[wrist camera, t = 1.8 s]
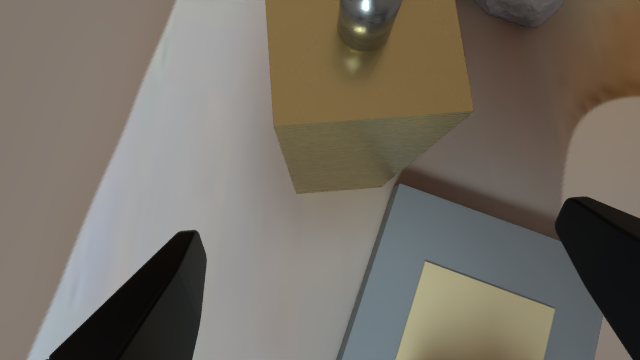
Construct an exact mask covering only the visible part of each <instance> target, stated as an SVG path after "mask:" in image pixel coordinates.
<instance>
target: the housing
mask: <svg viewBox="0 0 640 360" xmlns="http://www.w3.org/2000/svg"><path fill="white" fill-rule="evenodd" d="M265 3H266V18H267V33H268V49H269V64H270V79H271V94H272V109H273V125H274V129H275V132H276V135H277V138H278V141H279V144H280V147H281V150H282V153H283V155H284V158H285V161H286V164H287V167H288V170H289V173H290V176H291V179H292V182H293V185H294V188H295V191H296V194H302V193H314V192H326V191H338V190H350V189H362V188H374V187H382V186H383V185H384V184H386V183H387V182H388V181H389V180H390V179H392V178H393V177H394V176H395V175H397V174H398V173H399V172H400V171H401V170H403V169H404V168H405V167H406V166H407V165H409V164H410V163H411V162H412V161H414V160H415V159H416V158H417V157H418V156H420V155H421V154H422V153H423V152H425V151H426V150H427V149H428V148H429V147H431V146H432V145H433V144H434V143H436V142H437V141H438V140H439V139H440V138H442V137H443V136H444V135H445V134H447V133H448V132H449V131H450V130H451V129H453V128H454V127H455V126H456V125H458V124H459V123H460V122H461V121H462V120H464V119H465V118H466V117H467V116H469V115H470V114H471V113H472V112H473V111H474V107H473V102H472V96H471V90H470V84H469V78H468V73H467V67H466V61H465V55H464V49H463V44H462V38H461V32H460V26H459V21H458V15H457V9H456V3H455V0H265Z"/></svg>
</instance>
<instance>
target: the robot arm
mask: <svg viewBox="0 0 640 360" xmlns="http://www.w3.org/2000/svg"><path fill="white" fill-rule="evenodd" d="M555 230H556V233H557V235H558V237H559V239H560V241H561V243H562V244H563V246H564V248H565V250H566V252H567V254H568V256H569V258H570V260H571V262H572V264H573V265H574V267H575V269H576V271H577V273H578V275H579V277H580V279H581V280H582V282H583V284H584V286H585V288H586V289H587V291H588V292H589V294H590V296H591V297H592V299H593V300H594V302H595V303H596V305H597V306H598V308H599V309H600V311H601V312H602V314H603V315H604V317H605V318H606V320H607V321H608V323H609V324H610V326H611V327H612V329H613V330H614V332H615V333H616V335H617V336H618V338H619V339H620V341H621V343H622V344H623V345H624V347H625V349H626V350H627V352H628V353H629V355H630V356H631V358H632V359H633V360H640V218H637V217H635V216H632V215H630V214H628V213H625V212H623V211H620V210H618V209H615V208H613V207H611V206H608V205H606V204H603V203H601V202H599V201H596V200H594V199H591V198H589V197H572V198H568V199H567V200H566V201H565V202H564V204H563V206H562V209H561V211H560V213H559V215H558V217H557V219H556V222H555ZM206 264H207V258H206V253H205V250H204V247H203V244H202V241H201V238H200V235H199V233H198V232H197V231H196V230H187V231H180V232H178V233H177V234H175V235H174V236H173V237H172V238H171V239H170V240H169V241H168V242H167V243H166V244H165V245H164V246H163V247H162V248H161V249H160V250H159V251H158V252H157V253H156V254H155V255H154V256H153V257H152V258H151V259H150V260H148V261H147V262H146V263H145V264H144V265H143V266H142V267H141V268H140V269H139V270H138V271H137V272H136V273H135V274H134V275H133V276H132V277H131V278H130V279H129V280H128V281H127V282H126V283H125V284H124V285H123V286H121V287H120V288H119V289H118V290H117V291H116V292H115V293H114V294H113V295H112V296H111V297H110V298H109V299H108V300H107V301H106V302H105V303H104V304H103V305H102V306H101V307H100V308H99V309H98V310H97V311H95V312H94V313H93V314H92V315H91V316H90V317H89V318H88V319H87V320H86V321H85V322H84V323H83V324H82V325H81V326H80V327H79V328H78V329H77V330H76V331H75V332H74V333H73V334H72V335H71V336H70V337H68V338H67V339H66V340H65V341H64V342H63V343H62V344H61V345H60V346H59V347H58V348H57V349H56V350H55V351H54V352H53V353H52V354H51V355H50V356H49V359H46V360H192V358H193V353H194V349H195V344H196V340H197V336H198V331H199V326H200V319H201V311H202V302H203V292H204V283H205V273H206Z"/></svg>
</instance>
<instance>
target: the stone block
mask: <svg viewBox="0 0 640 360" xmlns="http://www.w3.org/2000/svg"><path fill="white" fill-rule="evenodd" d="M474 1H476V2H477V3H478V5H479V6H480V7H481V8H482V9H483V11H484V12H486V13H487V14H488V15H490V16H496V17H499V18H502V19H504V20H507V21H510V22H513V23H517V24H520V25H522V26H528V27H538V26H539V25H541V24H542V23H544V22H545V21H546V20H547V19H548V18H549V17H550V16H551V15H552V14H554V13H555V12H557V10H558V9H559V8H560V7H561V6H562V3H563V1H564V0H474Z"/></svg>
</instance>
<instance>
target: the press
mask: <svg viewBox="0 0 640 360" xmlns="http://www.w3.org/2000/svg"><path fill="white" fill-rule="evenodd" d="M602 318H603V314H602V312H601V311H600V309H599V308H598V306H597V305H596V303H595V302H594V300H593V299H592V297H591V296H590V294H589V292H588V291H587V289H586V288H585V286H584V284H583V282H582V280H581V279H580V277H579V275H578V273H577V271H576V269H575V267H574V265H573V264H572V262H571V260H570V258H569V256H568V254H567V252H566V250H565V248H564V246H563V244H562V243H561V241H559V240H556V239H554V238H551V237H548V236H545V235H542V234H540V233H537V232H534V231H531V230H529V229H526V228H523V227H520V226H517V225H515V224H512V223H509V222H506V221H504V220H501V219H498V218H495V217H492V216H490V215H487V214H484V213H481V212H479V211H476V210H473V209H470V208H467V207H465V206H462V205H459V204H456V203H454V202H451V201H448V200H445V199H442V198H440V197H437V196H434V195H431V194H428V193H426V192H423V191H420V190H417V189H415V188H412V187H409V186H406V185H403V184H401V183H399V184H398V185H396V186H395V187H393V190H392V193H391V196H390V200H389V203H388V206H387V209H386V212H385V215H384V218H383V221H382V224H381V227H380V230H379V233H378V236H377V239H376V242H375V245H374V248H373V251H372V254H371V257H370V260H369V263H368V266H367V269H366V272H365V275H364V278H363V281H362V284H361V287H360V290H359V293H358V296H357V299H356V302H355V305H354V308H353V311H352V314H351V318H350V321H349V324H348V327H347V330H346V333H345V336H344V339H343V342H342V345H341V348H340V351H339V354H338V357H337V360H594V358H595V352H596V348H597V343H598V337H599V333H600V328H601V323H602Z"/></svg>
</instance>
